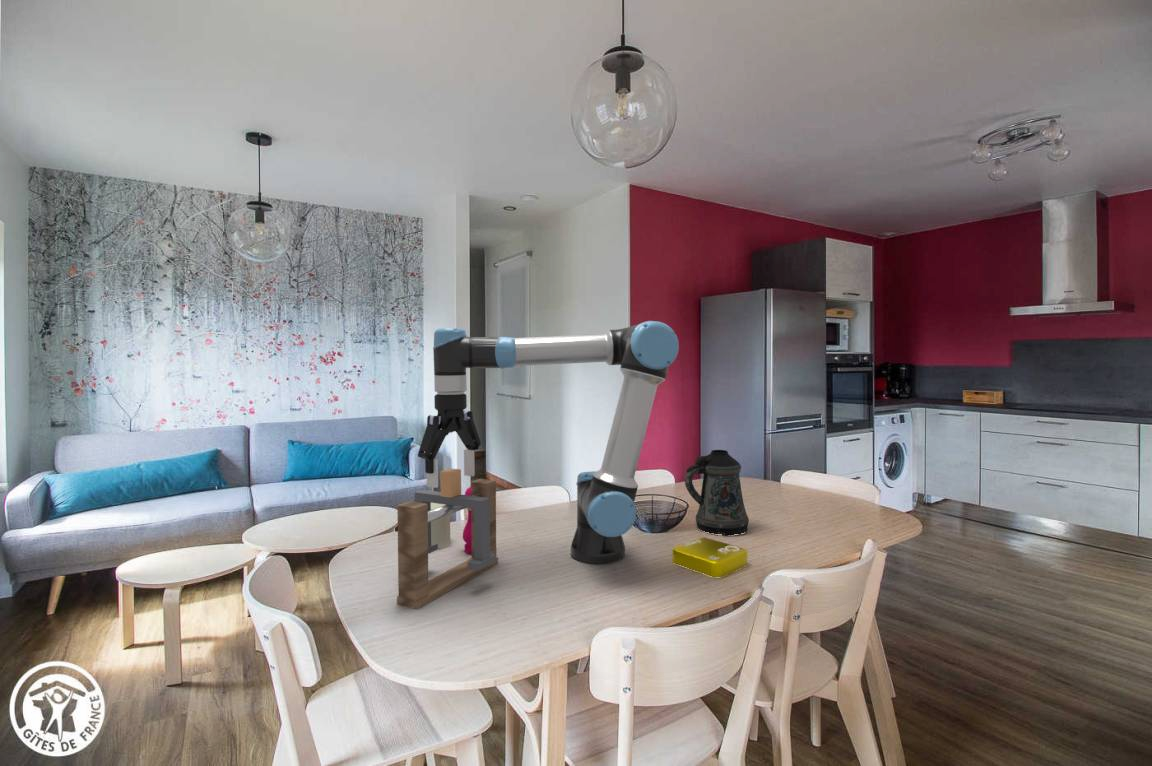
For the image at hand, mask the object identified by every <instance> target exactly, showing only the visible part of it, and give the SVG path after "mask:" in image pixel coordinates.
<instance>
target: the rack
mask: <svg viewBox="0 0 1152 766" xmlns="http://www.w3.org/2000/svg"><path fill="white" fill-rule="evenodd" d="M470 487H471V496H476V497H484V498H489V499H490V553H491V554H496V555H497V480H495V479H492V480H491V479H485V478H479V479H475V480H473V481H470ZM465 509H467V508H466V507H459V506H452V505H444V506H441V507H439V508H436V509H433V510H430V511H428V504H426V503H419V502H415V501H411V500H410V501H407V502H403V503H400V504H398V505H397V510H396V511H397V575H398V576H397V577H398V578H397V579H398V582H397V583H398V586H397V587H398V592H397V593H398V595H397V596H396V604H398V605H400V606H404V607H408V608H412V609H415V610H419V609H421V608H423V607H424V606H425V605H427V604H430V603H431V602H433V601H434V600H436V599H438V598H440V597H441V595H442V596H443V595H445V594H447V593H449V592H451V591H452V590H453V588H454V589H456V588H457V587H460V586H461V585H462V584H464V583H466V582H468V581H470V580H471V579H473V578H474V576H475V577H476V576H478V575H480V574H482V573H484V572H485V571H487V570H489V569H491V568H492V567H493V566H495V565H497V564H498V562H499V559H498V557H497V556H496V561H495V562H493V563H491V564H489V565H488V566H486V567H484V568H482V569H481V570H479V571H478V570H473V569H468V562H469V561H471V560H473V559H474V509H473V508H471V528H472V554H471V558H469V559H467V560H465V561H463V562H461V563H459V564H458V565H455V566H453V567H452V568H449V569H447V570H446V571H444V572H442V573H440V574H438V575H436V576H434V577H432V578H431V579H429V554H428V522H431V521H434V520H436V519H439V518H441V517H444V516H447V515H449V514H450V515H451V514H454V513H457V512H459V511H462V510H465ZM467 580H468V581H467ZM460 584H461V585H460ZM455 587H456V588H455ZM451 589H452V590H451ZM448 591H449V592H448ZM446 592H447V593H446Z"/></svg>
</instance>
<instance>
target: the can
mask: <svg viewBox="0 0 1152 766" xmlns="http://www.w3.org/2000/svg"><path fill="white" fill-rule="evenodd" d="M444 505H445V504H438V503H431V510H433V509H436V508H439V507H441V506H444ZM431 543H437V544H438V548H441V549H445V548H447V547H449V546H450V545H451V544H452V540H451V514H449V515H447V516H444V517H441V518H439V519H436V520H434V521H431ZM446 546H447V547H446ZM444 547H445V548H444Z"/></svg>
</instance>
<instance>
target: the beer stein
mask: <svg viewBox="0 0 1152 766" xmlns="http://www.w3.org/2000/svg"><path fill="white" fill-rule="evenodd" d="M741 470H742V465H741V464H740V462H739V461H738V460H736V459H735V458H733V457H732V456H731V455H730V454H729V452H728V450H725V449H713V450H711V452H710V453H709V454H707V455H702V456H698V457H697V458H695V462H694V464H693V465H690V466H689V467H688V468H687V469H686V473H685V475H684V485H685V488H686V490H687V491H688V493H689V495H690V497H691V498H692V499H693V500H694V501H695V502H696V503H697V504H698V505H699V507H698V510H697V513H696V514H695V522H696V527H697V529H698V528H699V529H700V530H699V529H698V530H699V531H701V530H702V531H705V532H709V533H714V534H722V535H734V534H741V533H744V532H746V531H747V532H748V528H749V523H750V522H749V521H750V520H749V515H748V514H747V510H746V507H745V503H744V498H743V491H742V485H741V478H740V473H741ZM696 474H699V475H700V474H701V475H702V474H703V477H702V484H701V490H700V491H701V492H700V494H699V492H698V491H697V490H696V488H695V486H694V483H693V478H694V477H695V475H696ZM702 531H701V532H702ZM705 532H704V533H705ZM747 532H746V533H747Z"/></svg>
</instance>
